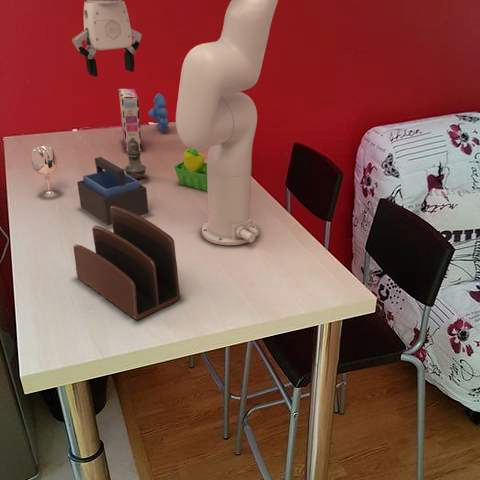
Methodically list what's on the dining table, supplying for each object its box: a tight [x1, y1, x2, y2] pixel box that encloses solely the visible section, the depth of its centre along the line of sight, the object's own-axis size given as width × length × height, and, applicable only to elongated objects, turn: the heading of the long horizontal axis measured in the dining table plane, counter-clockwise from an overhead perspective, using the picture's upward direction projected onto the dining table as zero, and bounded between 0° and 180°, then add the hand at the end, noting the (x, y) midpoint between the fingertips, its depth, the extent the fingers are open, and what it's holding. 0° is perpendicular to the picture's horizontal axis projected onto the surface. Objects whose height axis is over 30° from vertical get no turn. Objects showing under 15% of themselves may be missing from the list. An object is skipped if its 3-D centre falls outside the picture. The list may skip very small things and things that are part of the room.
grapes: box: [147, 92, 170, 133], centre depth 191 cm, size 12×7×12 cm, turn 22°
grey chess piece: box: [123, 137, 147, 181], centre depth 153 cm, size 6×6×12 cm
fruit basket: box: [173, 147, 208, 192], centre depth 152 cm, size 11×9×11 cm
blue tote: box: [82, 156, 140, 198], centre depth 136 cm, size 11×9×12 cm
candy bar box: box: [118, 88, 143, 153], centre depth 176 cm, size 11×5×16 cm, turn 17°
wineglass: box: [30, 145, 58, 195], centre depth 143 cm, size 6×6×12 cm
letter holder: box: [73, 206, 181, 321], centre depth 107 cm, size 10×20×14 cm, turn 47°
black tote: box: [77, 179, 149, 226], centre depth 137 cm, size 13×11×7 cm
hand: (111, 73), depth 139 cm, fingers open, 9 cm apart
